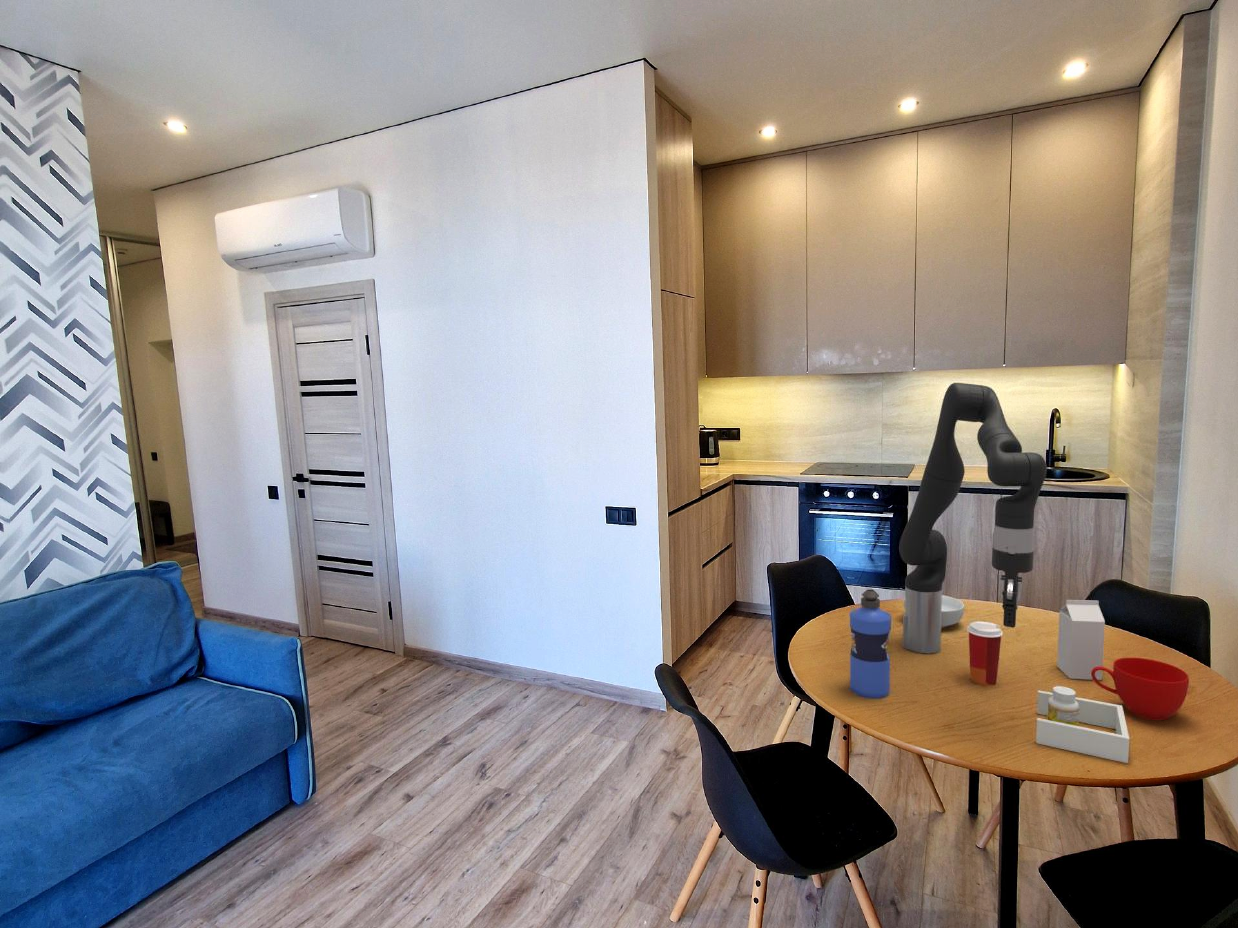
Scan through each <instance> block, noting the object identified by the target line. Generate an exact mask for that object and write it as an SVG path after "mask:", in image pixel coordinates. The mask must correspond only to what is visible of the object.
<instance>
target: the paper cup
mask: <svg viewBox="0 0 1238 928" xmlns="http://www.w3.org/2000/svg"><path fill="white" fill-rule="evenodd" d="M966 632H967V633H968V650H969V651H968V652H969V672H970V674H969V675H970V680H971V681H972V682H973V683H974V684H977V685H981V686H985V687H986V686H990V687H992V686H994V685H996V684H997V678H998V672H999V671H998V670H999V663H1000V661H999V660H1000V652H1001V641H1002V636H1003V634H1004V633H1003V631H1002V629H1001V627H1000V626H999V625H998V624H997V623H992V622H989V621H981V620H980V621H979V620H978V621H973V622H970V623H969V624H968V626H967V628H966Z"/></svg>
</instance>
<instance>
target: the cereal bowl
mask: <svg viewBox="0 0 1238 928" xmlns="http://www.w3.org/2000/svg"><path fill="white" fill-rule="evenodd" d="M903 609H904V610H905V597H904V598H903ZM964 613H965V604H964V603H963V601H961V600H960V599H957V598H954V597H952V596H947V595H943V594H942V608H941V629H942V628H946V627H948V626H952V625H955V624H957V623H959V622H960V621H961V620H962V619H963V617H964Z"/></svg>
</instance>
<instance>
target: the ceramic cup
mask: <svg viewBox="0 0 1238 928" xmlns="http://www.w3.org/2000/svg"><path fill="white" fill-rule="evenodd" d="M1112 664H1113V667H1112V670H1111V669H1109V668H1107V667H1105V666H1097V667H1094V668H1093V669H1092V671H1091V676H1092V678H1093V682H1094V683H1095V684H1096V685H1097V686H1098V687H1100V688H1102V689H1104V690H1106V691H1107V692H1109V693H1112V694H1115V695H1117V696H1118V697H1119V699H1120V701H1121V702H1122V703H1123V705H1124V706H1125V707H1126V708H1127V709H1128V710H1129V711H1130V713H1132V714H1134V715H1136V716H1138V717H1140V718H1143V719H1148V720H1151V721H1152V720H1155V721H1163V720H1166V719H1168V718H1169V717H1171V716H1173V715H1174V714H1175V713H1176V712H1178V711H1179V710H1180V708H1182V706H1183V704H1184V702H1185V700H1186V697H1187V694H1188V690H1189V684H1190V677H1189V674H1188V673H1187V672H1186V671H1184V670H1183V669H1181V668H1179V667H1178V666H1175V665H1172V664H1170V663H1166V662H1163V661H1159V660H1155V659H1148V658H1144V657H1119V658H1117V659H1115V660H1114V661H1113V663H1112ZM1098 670H1102V672H1103V671H1104V672H1105V673H1107V674H1109V675H1110V677H1111V678H1112V680H1113V682H1114V688H1111V687H1110V686H1108V685H1105V684H1103V683H1102V682H1101V681H1100V680H1097V678H1096V677H1095V672H1096V671H1098Z"/></svg>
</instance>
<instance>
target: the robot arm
mask: <svg viewBox="0 0 1238 928" xmlns="http://www.w3.org/2000/svg"><path fill="white" fill-rule="evenodd" d="M943 396H944V397H943V399H942V403H941V408H940V412H939V417H938V421H937V426H936V431H935V435H934V439H933V443H932V447H931V450H930V453H929V456H928V459H927V462H926V465H925V468H924V471H923V475H922V477H921V478H922V479H921V482H920V485H919V489H918V492H917V496H916V499H915V501H914V505H913V508H912V511H911V514H910V515H909V519H908V521H907V523H906V525H905V528H904V530H903V532H902V534H901V537H900V540H899V545H898V550H899V551H898V552H899V555H900V558H901V559H902V561H903V562H904V563H905V564H906V565H908V566H916V567H915V568H914V569H913V570H912V571H911V572H909V573H908V574H907V575H906V577H905V580H904V581H905V582H904V583H905V584H904V587H905V589H904V594H905V595H904V598H905V609H904V613H903V616H902V617H903V618H902V648H903V649H908V650H909V651H911V652H916V653H919V654H935V653H939V652H940V651H941V645H942V628H941V608H942V595H943V583H944V581H945V579H946V575H947V573H946V572H947V561H948V545H947V542H946V541H947V540H946V539H945V536H944V535H943V534H942V533H941V532H940V531H939V530H937V529H933V528H934V526H935V524H936V522H937V520H938V519H939V518H940V517H941V516H942V515H943V514H944V513H945V511H947V509H948V508H949V507H950V506H951V505H952V503H953V502H954V500H955V499H956V498H957V497H958V494H959V491H960V489H961V485H962V482H963V479H964V477H965V466H964V462H963V459H962V457H961V453H960V451H959V448H958V446H957V442H956V437H955V431H956V424H957V422H958V421H961V422H969V423H981V424H982V425H980V427H979V429H978V430H977V435H976V439H977V444H978V446H979V448H980V449H981V451H982V452H983V455H985V458H986V463H987V466H986V467H987V468H986V469H987V473H986V474H987V477H988V479H989V481H990V482H991V483H992V484H994V485H995V486H998V487H1020V488H1019V490H1018V491H1017V492H1016V493H1014V494H1012V495H1008V496H1004V497H1003V496H1002V497H1000V498H998V499H997V500H996V502H995V508H994V527H993V533H992V546H991V547H992V548H991V549H992V550H991V551H992V553H991V567H992V568H993V569H995V570H997V571H1002V572H1004V574H1001V575H1000V578H999V579H1000V581H999V585H1000V588H1001V589H1000V590H1001V591H1000V592H1001V593H1000V598H1001V600H1002V609H1003V620H1002V621H1003V623H1002V624H1003V626H1004V627H1006V628H1012V629H1013V628H1015V627H1016V622H1017V610H1018V607H1019V604H1018V602H1020V601H1021V593H1022V592H1021V591H1022V590H1021V589H1023V587H1022V586H1023V580H1024V579H1023V576H1019V574H1020V573H1022V574H1026V573H1030V572H1032V571H1033V569H1034V556H1035V555H1034V553H1035V531H1034V528H1035V527H1034V526H1035V525H1034V524H1035V523H1034V522H1035V521H1034V520H1035V509H1036V505H1037V501H1038V498H1039V495H1040V493H1041V490H1042V487H1043V485H1044V482H1045V480H1046V477H1047V470H1048V468H1047V467H1048V466H1047V463H1046V460H1045V458H1044V457H1043V456H1042V455H1041V454H1040V453H1037V452H1031V451H1030V452H1029V451H1028V452H1023V448H1022V444H1021V442H1020V440H1018V438H1017V437H1016V435H1015V434H1014V432H1013V431H1012V430H1011V429H1010V427H1009V426H1008V423H1007V420H1006V418H1005V414H1004V412H1003V408H1002V406H1001V403H1000V400H999V398H998V396H997V393H996V392H995V390H994V389H993V388H992V387H989V386H988V385H982V384H974V383H963V382H953V383H951V384H949V385H948V387H947V388H946V390H945V393H944V395H943Z"/></svg>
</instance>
